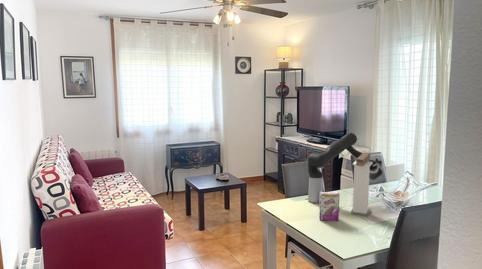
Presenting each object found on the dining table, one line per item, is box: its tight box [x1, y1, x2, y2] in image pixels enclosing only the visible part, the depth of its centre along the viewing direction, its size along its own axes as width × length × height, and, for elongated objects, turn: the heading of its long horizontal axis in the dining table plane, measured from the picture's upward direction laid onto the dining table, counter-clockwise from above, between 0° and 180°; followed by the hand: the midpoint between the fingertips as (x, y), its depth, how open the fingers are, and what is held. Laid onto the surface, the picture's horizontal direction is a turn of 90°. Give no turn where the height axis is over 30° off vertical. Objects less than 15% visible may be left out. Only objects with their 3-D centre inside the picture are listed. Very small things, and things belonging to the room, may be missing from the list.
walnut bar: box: [355, 151, 371, 166], centre depth 225 cm, size 24×4×4 cm, turn 151°
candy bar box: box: [318, 191, 341, 222], centre depth 216 cm, size 11×5×16 cm, turn 84°
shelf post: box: [350, 160, 373, 217], centre depth 226 cm, size 10×10×32 cm
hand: (369, 159), depth 245 cm, fingers open, 8 cm apart
